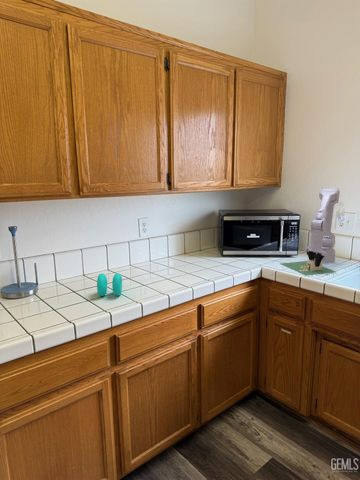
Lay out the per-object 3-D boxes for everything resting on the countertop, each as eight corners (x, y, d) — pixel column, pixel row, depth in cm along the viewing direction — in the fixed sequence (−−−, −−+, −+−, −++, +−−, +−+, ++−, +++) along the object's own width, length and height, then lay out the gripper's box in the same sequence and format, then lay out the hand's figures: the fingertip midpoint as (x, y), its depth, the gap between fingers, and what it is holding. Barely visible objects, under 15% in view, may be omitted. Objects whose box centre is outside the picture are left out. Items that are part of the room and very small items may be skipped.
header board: (307, 261, 204) (308, 256, 203) (337, 273, 182) (337, 267, 181) (279, 264, 198) (279, 259, 198) (305, 276, 176) (306, 271, 175)
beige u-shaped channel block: (316, 267, 189) (317, 259, 188) (321, 269, 186) (322, 260, 185) (306, 268, 187) (307, 260, 186) (311, 270, 183) (311, 262, 182)
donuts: (100, 291, 155) (99, 270, 153) (122, 291, 156) (121, 270, 153) (97, 299, 145) (95, 277, 143) (120, 299, 146) (119, 277, 144)
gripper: (301, 239, 189) (300, 262, 192) (319, 244, 175) (317, 269, 178) (312, 238, 191) (310, 261, 194) (330, 243, 177) (328, 268, 180)
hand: (314, 265), depth 186 cm, fingers closed on beige u-shaped channel block, 4 cm apart
